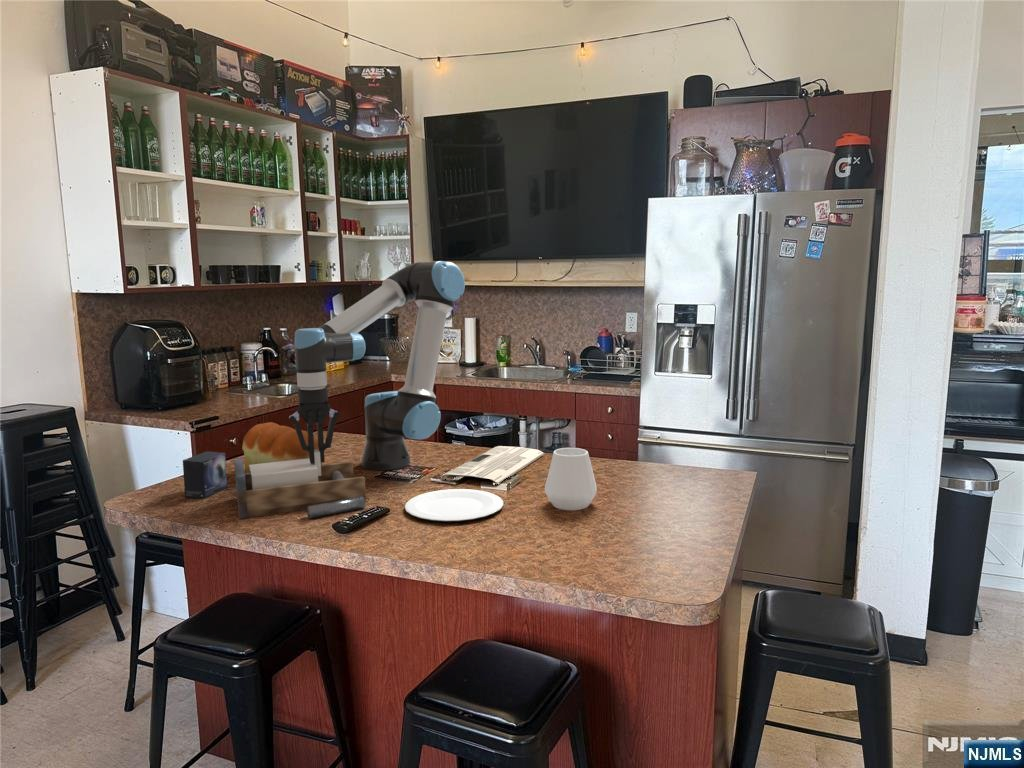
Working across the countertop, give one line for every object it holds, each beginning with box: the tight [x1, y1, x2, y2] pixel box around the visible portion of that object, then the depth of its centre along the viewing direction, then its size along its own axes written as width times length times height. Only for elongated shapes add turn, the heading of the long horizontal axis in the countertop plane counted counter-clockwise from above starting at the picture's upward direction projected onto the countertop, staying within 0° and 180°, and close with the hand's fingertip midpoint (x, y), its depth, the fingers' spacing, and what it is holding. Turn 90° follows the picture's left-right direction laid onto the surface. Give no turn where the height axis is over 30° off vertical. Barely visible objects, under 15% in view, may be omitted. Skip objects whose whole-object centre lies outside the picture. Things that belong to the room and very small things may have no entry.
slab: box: [249, 458, 318, 490], centre depth 181 cm, size 16×12×4 cm
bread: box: [241, 421, 323, 473], centre depth 206 cm, size 25×12×15 cm, turn 47°
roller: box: [306, 496, 366, 519], centre depth 172 cm, size 14×3×3 cm, turn 123°
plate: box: [404, 488, 504, 523], centre depth 175 cm, size 25×25×2 cm
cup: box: [544, 447, 598, 511], centre depth 176 cm, size 13×13×14 cm
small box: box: [182, 450, 228, 499], centre depth 190 cm, size 11×6×10 cm, turn 168°
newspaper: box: [441, 445, 544, 485], centre depth 213 cm, size 37×19×3 cm, turn 157°
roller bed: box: [233, 458, 367, 519], centre depth 183 cm, size 31×18×10 cm, turn 113°
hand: (317, 474), depth 184 cm, fingers closed
